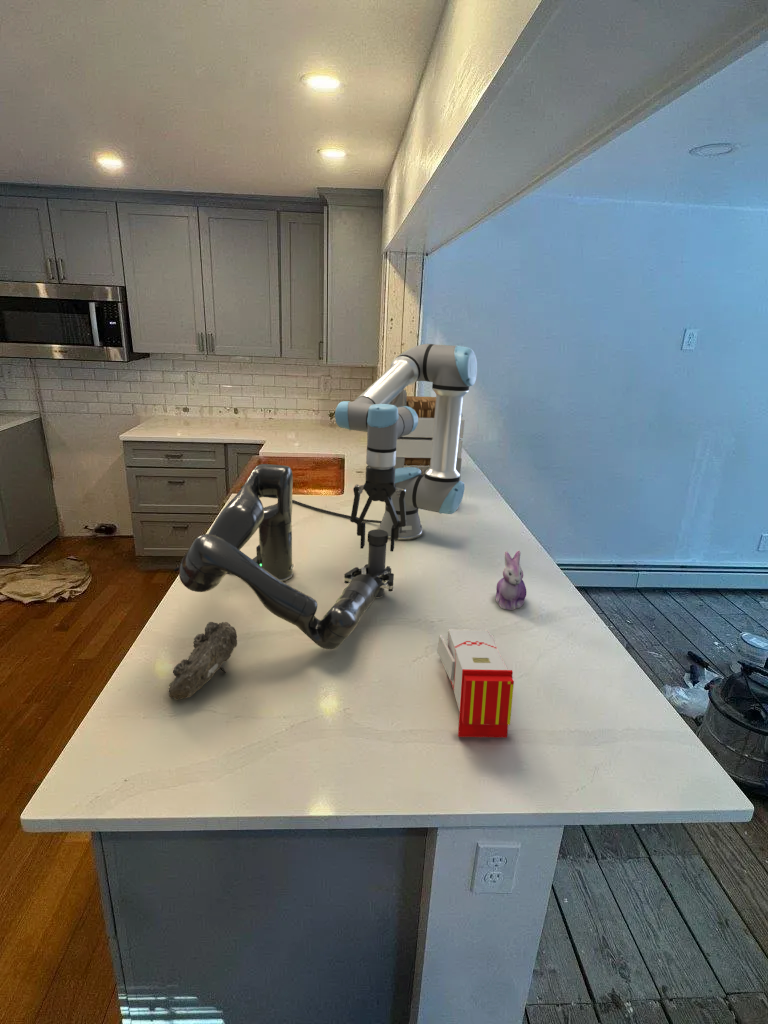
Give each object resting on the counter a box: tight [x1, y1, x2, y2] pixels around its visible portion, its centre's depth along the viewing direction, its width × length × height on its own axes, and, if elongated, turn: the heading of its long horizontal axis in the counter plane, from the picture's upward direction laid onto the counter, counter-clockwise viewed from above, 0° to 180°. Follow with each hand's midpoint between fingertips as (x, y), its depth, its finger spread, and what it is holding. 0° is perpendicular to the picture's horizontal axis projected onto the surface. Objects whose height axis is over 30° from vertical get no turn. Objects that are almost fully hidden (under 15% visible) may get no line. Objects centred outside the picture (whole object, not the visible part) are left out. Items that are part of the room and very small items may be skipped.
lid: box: [367, 528, 389, 545], centre depth 152 cm, size 6×6×2 cm
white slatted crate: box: [389, 388, 465, 481], centre depth 268 cm, size 34×33×41 cm
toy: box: [437, 628, 515, 738], centre depth 117 cm, size 12×13×30 cm
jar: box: [367, 543, 387, 599], centre depth 154 cm, size 5×5×18 cm
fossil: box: [167, 621, 238, 701], centre depth 119 cm, size 22×10×15 cm
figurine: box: [495, 550, 527, 611], centre depth 153 cm, size 9×10×15 cm
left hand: (379, 567), depth 157 cm, fingers closed on jar, 4 cm apart
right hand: (377, 547), depth 153 cm, fingers open, 7 cm apart
